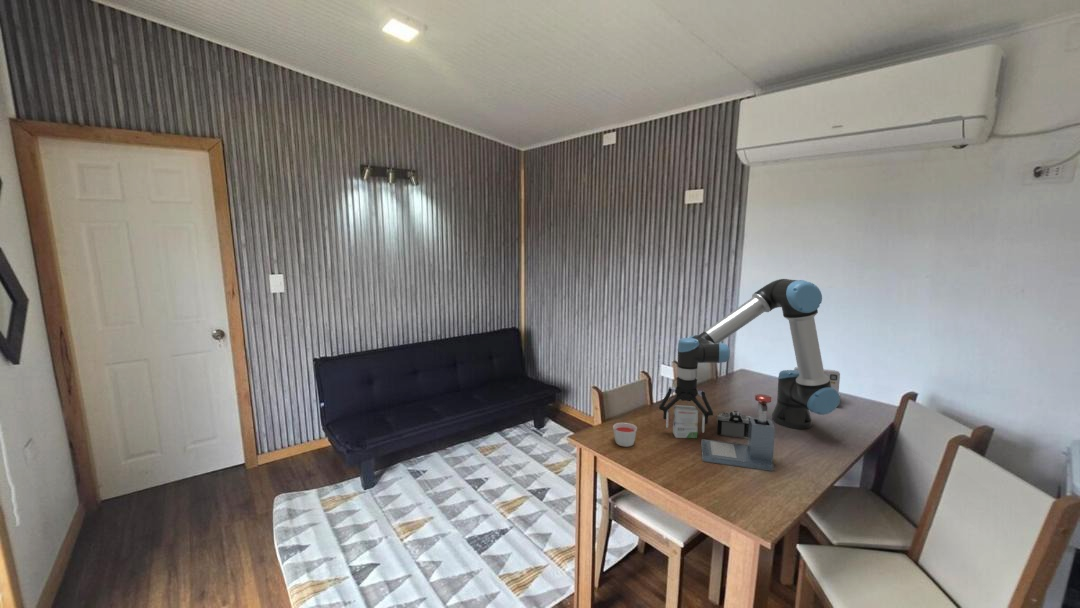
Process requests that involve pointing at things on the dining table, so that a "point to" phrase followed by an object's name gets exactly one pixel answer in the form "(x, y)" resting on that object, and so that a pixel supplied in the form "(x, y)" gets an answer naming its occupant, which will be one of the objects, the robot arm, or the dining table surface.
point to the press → (744, 448)
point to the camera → (733, 424)
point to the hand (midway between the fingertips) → (684, 429)
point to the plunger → (762, 407)
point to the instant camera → (832, 378)
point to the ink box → (685, 421)
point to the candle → (624, 434)
